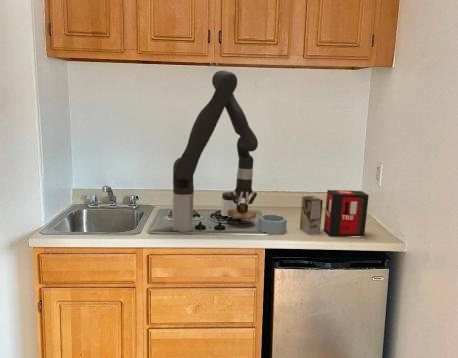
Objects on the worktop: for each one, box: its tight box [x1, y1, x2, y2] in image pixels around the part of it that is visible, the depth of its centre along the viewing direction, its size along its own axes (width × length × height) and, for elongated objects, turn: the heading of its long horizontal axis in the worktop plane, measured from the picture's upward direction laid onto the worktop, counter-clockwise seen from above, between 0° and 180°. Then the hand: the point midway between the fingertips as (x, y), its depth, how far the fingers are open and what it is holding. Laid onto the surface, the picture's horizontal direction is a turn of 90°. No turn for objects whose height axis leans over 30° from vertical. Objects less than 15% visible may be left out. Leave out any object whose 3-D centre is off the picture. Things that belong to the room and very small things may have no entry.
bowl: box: [258, 213, 288, 235], centre depth 201 cm, size 12×12×6 cm
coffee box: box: [299, 195, 324, 235], centre depth 202 cm, size 9×6×16 cm
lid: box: [227, 202, 257, 220], centre depth 208 cm, size 14×14×6 cm
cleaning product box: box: [323, 189, 370, 238], centre depth 200 cm, size 16×9×20 cm, turn 94°
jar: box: [220, 191, 238, 217], centre depth 221 cm, size 9×8×12 cm
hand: (241, 211), depth 208 cm, fingers closed on lid, 3 cm apart
